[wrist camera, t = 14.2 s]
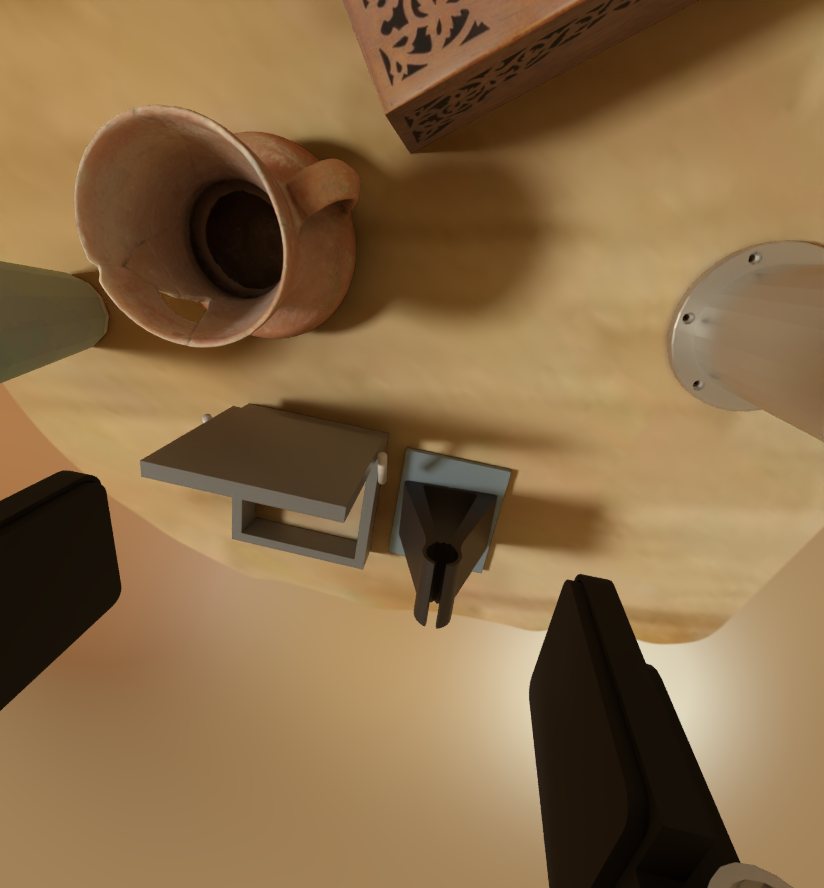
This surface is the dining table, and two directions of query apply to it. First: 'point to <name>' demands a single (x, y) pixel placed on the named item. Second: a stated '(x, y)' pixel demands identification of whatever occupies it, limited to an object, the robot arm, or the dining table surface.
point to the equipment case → (282, 475)
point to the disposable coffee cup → (45, 318)
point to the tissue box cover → (481, 52)
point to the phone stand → (442, 541)
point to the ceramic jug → (215, 226)
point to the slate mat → (450, 485)
